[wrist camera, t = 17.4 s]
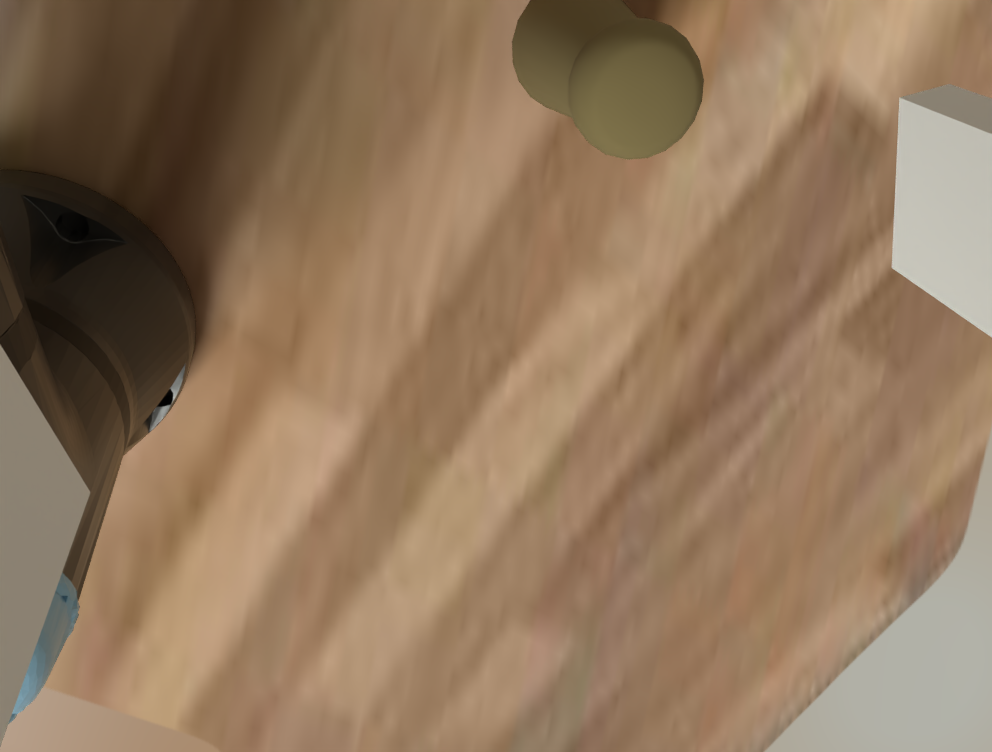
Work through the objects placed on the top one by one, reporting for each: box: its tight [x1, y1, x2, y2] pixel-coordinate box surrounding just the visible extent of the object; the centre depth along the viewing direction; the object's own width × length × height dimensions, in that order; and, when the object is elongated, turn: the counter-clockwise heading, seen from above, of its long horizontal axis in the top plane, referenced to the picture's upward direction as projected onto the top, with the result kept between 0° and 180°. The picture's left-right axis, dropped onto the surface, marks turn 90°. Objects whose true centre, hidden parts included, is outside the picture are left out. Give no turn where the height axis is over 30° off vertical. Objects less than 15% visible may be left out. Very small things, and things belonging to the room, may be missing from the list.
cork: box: [512, 0, 704, 159], centre depth 36 cm, size 6×6×11 cm
